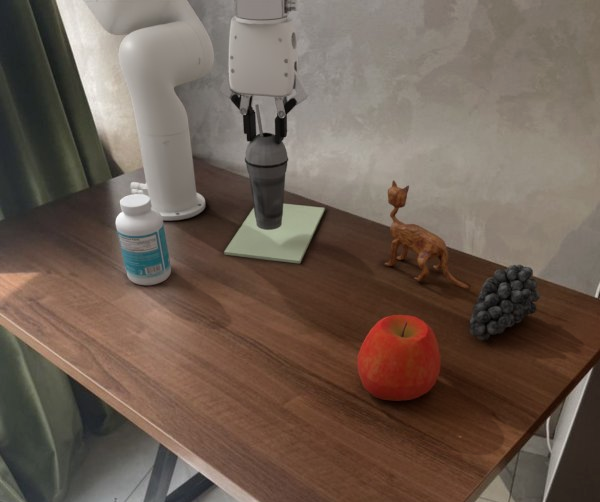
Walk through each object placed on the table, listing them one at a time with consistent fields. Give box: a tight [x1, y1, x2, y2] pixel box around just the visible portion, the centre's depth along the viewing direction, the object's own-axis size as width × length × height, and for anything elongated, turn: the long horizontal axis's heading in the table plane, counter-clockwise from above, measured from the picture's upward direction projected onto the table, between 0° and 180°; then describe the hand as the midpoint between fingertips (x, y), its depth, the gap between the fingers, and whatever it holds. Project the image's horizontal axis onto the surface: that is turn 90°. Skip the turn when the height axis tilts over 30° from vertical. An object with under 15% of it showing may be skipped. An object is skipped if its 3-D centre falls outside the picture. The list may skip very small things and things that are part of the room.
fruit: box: [469, 264, 541, 341], centre depth 90 cm, size 9×8×15 cm
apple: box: [357, 314, 442, 402], centre depth 78 cm, size 11×11×11 cm
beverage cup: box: [244, 104, 289, 230], centre depth 101 cm, size 7×7×20 cm
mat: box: [223, 203, 326, 265], centre depth 115 cm, size 14×22×1 cm, turn 167°
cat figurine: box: [383, 179, 470, 290], centre depth 99 cm, size 18×7×14 cm, turn 46°
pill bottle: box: [115, 194, 172, 286], centre depth 98 cm, size 8×7×14 cm
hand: (265, 138), depth 98 cm, fingers closed on beverage cup, 4 cm apart
